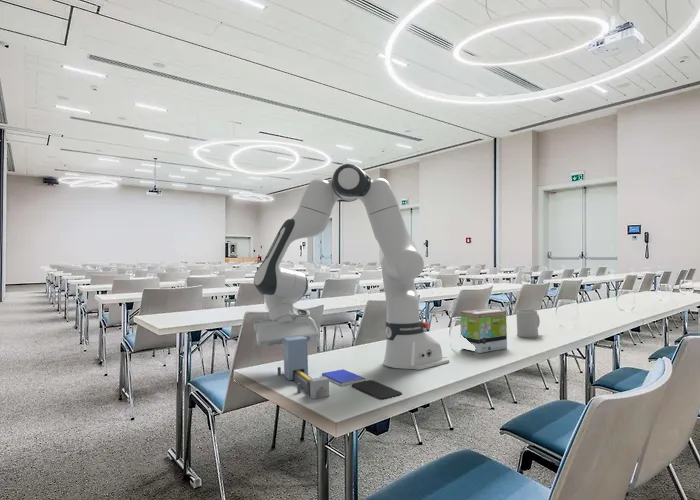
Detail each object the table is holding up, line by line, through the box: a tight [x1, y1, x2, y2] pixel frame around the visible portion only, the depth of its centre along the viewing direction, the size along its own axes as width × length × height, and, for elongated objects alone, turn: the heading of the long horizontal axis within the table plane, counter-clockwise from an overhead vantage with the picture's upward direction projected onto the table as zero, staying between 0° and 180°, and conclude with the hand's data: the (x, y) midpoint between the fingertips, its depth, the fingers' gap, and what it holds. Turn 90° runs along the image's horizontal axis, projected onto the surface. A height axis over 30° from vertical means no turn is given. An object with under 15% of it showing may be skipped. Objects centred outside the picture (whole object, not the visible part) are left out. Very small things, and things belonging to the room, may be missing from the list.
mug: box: [515, 309, 541, 339], centre depth 183 cm, size 12×8×11 cm
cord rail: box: [277, 366, 330, 399], centre depth 120 cm, size 8×28×4 cm, turn 25°
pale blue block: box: [283, 336, 309, 381], centre depth 127 cm, size 6×5×12 cm
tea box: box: [459, 308, 508, 354], centre depth 159 cm, size 15×10×15 cm
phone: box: [351, 379, 403, 401], centre depth 112 cm, size 7×1×15 cm
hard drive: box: [321, 368, 367, 387], centre depth 124 cm, size 2×8×12 cm
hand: (292, 353), depth 130 cm, fingers closed, pressing on pale blue block
